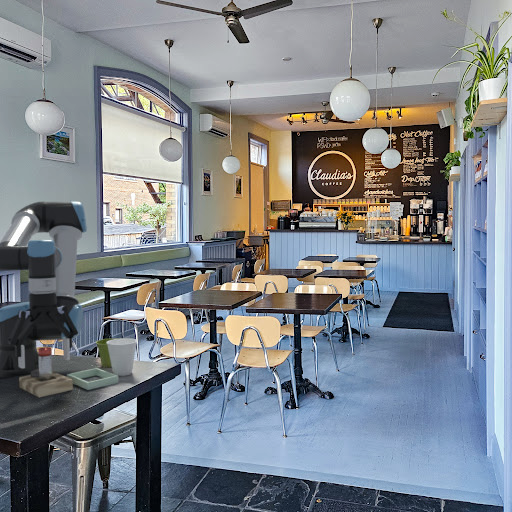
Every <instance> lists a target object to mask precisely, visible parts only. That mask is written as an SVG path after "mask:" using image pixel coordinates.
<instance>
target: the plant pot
mask: <svg viewBox="0 0 512 512" xmlns="http://www.w3.org/2000/svg"><path fill="white" fill-rule="evenodd" d="M113 339H117V338H116V337H115V338H104V339H100V340H97V341H95V344H96V345H97V346H96V347H97V349H98V352H99V357H100V359H99V360H100V365H101V366H102V367H103V368H112V365H111V360H110V355H109V350H108V345H107V343H106V342H107V341H109V340H113Z"/></svg>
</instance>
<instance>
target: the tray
mask: <svg viewBox="0 0 512 512" xmlns="http://www.w3.org/2000/svg"><path fill="white" fill-rule="evenodd" d="M95 376H98V377H100V379H96V380H91V381H87V380H85V379H86V378H91V377H95ZM66 377H68V378H70V379H73V385H75V386H78V387H80V388H83V389H85V390H87V391H89V390H93V389H94V390H95V389H98V388H101V387H106V386H109V385H114V384H118V383H119V376H118V375H115V374H113V372H109V371H107V370H103V369H101V368H98V367H95V368H90V369H86V370H81V371H76V372H71V373H67V374H66Z"/></svg>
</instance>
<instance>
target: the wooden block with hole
mask: <svg viewBox="0 0 512 512" xmlns="http://www.w3.org/2000/svg"><path fill="white" fill-rule="evenodd" d="M18 382H19V383H18V384H19V385H18V386H19V388H20V389H22V390H24V391H26V392H28V393H29V394H32V395H33V396H35V397H36V398H42V397H47V396H51V395H55V394H60V393H64V392H68V391H72V390H74V388H73V387H74V384H73V379H70V378H68V377H67V376H65V375H63V374H60V373H59V372H58V373H57V372H56V371H54V370H52V380H47V381H43V382H40V381H39V369H36V370H34V371H32V372H31V373H30V374H27V375H22V376H19V379H18Z"/></svg>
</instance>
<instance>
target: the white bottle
mask: <svg viewBox="0 0 512 512" xmlns="http://www.w3.org/2000/svg"><path fill="white" fill-rule="evenodd" d="M37 351H38V357H39V381H40V382H43V381H47V380H52V371H53V366H52V363H53V362H52V361H53V360H52V359H53V358H52V347H49V346H45V347H39V348H38V349H37Z"/></svg>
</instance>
